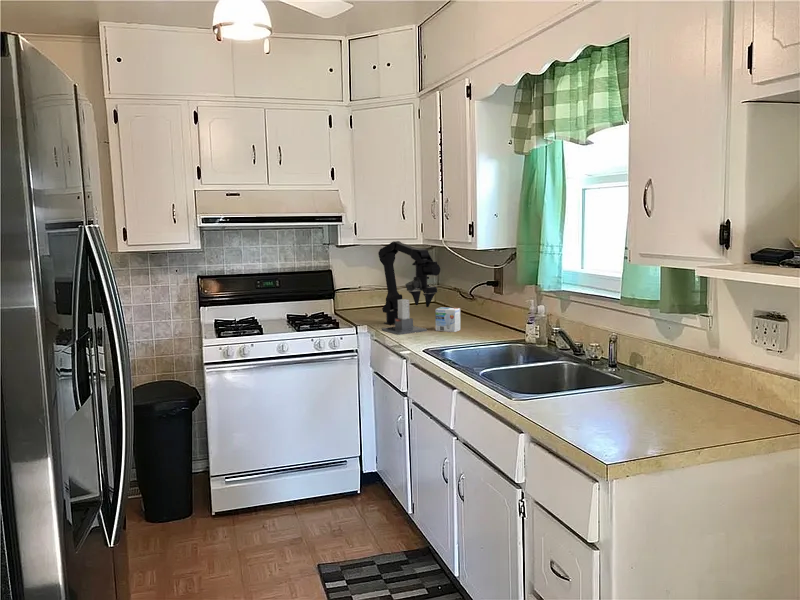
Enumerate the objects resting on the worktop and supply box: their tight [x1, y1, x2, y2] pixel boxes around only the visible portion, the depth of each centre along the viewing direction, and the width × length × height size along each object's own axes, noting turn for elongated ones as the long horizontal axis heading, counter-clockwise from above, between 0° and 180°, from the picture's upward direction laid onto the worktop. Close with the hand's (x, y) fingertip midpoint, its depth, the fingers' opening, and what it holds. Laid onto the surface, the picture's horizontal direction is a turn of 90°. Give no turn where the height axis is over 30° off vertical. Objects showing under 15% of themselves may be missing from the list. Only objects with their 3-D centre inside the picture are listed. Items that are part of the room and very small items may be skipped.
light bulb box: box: [434, 306, 461, 333], centre depth 326 cm, size 11×7×11 cm, turn 62°
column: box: [398, 298, 411, 320], centre depth 327 cm, size 4×4×10 cm
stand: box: [381, 317, 428, 336], centre depth 328 cm, size 16×16×6 cm
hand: (422, 306), depth 333 cm, fingers open, 9 cm apart
